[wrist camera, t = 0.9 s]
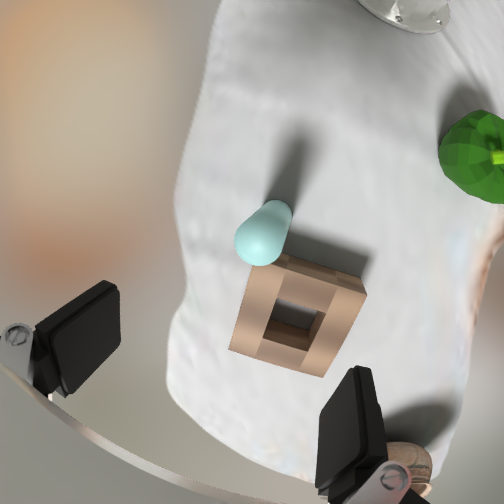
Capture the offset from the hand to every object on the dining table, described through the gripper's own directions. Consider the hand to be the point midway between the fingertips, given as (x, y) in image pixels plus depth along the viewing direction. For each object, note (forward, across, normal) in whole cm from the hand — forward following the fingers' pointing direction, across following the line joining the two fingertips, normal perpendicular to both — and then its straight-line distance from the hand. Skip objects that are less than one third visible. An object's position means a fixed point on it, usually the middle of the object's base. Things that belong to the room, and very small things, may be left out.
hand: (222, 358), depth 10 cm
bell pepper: (+20, -16, -14) cm, 29 cm away
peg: (+19, +1, -2) cm, 19 cm away
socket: (+19, -4, +7) cm, 21 cm away
